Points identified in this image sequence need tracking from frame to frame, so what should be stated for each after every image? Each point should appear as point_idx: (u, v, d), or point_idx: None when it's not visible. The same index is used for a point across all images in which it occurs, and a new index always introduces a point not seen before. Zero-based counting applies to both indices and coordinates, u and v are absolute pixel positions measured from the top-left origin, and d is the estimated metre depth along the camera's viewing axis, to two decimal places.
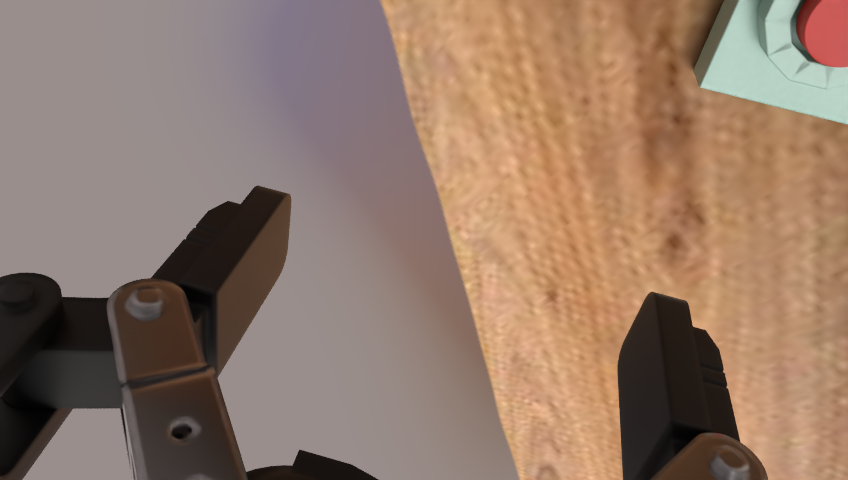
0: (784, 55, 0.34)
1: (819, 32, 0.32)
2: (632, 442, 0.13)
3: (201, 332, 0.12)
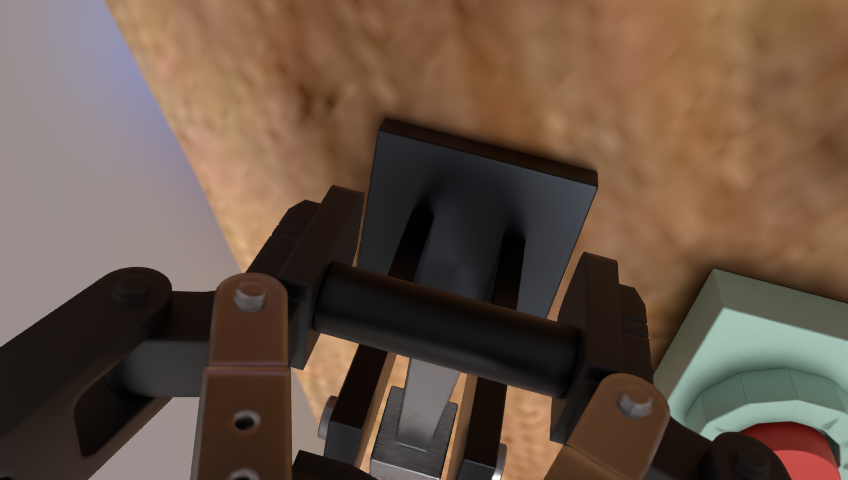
0: None
1: None
2: None
3: (296, 324, 0.12)
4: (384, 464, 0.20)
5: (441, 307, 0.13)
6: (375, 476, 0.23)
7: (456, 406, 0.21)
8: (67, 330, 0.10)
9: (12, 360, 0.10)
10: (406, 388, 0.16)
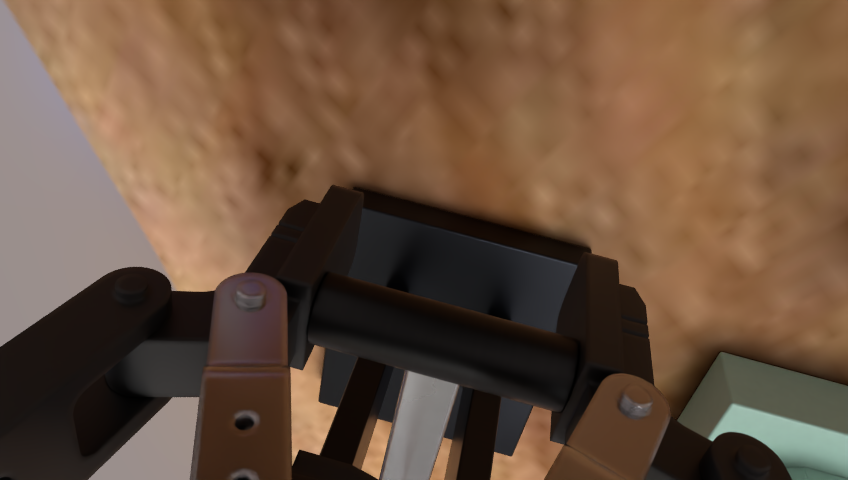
0: None
1: None
2: None
3: (295, 323, 0.12)
4: None
5: (441, 308, 0.13)
6: None
7: None
8: (66, 329, 0.10)
9: (11, 360, 0.10)
10: (390, 443, 0.15)
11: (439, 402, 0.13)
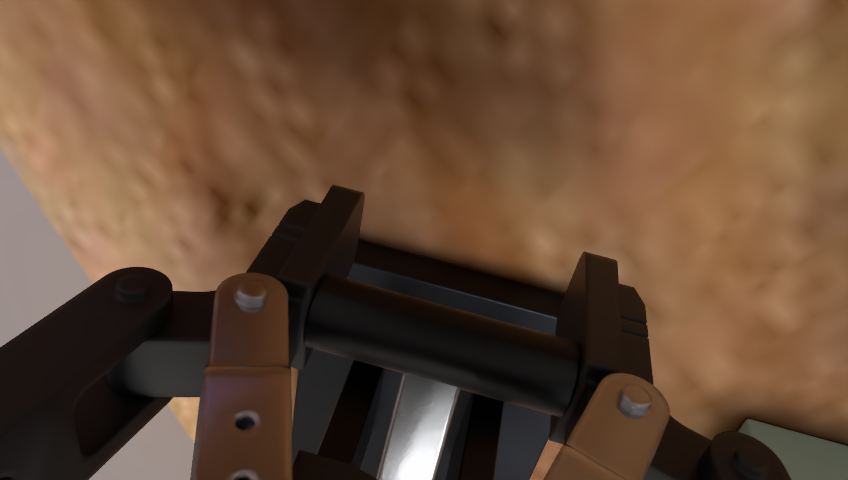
0: None
1: None
2: None
3: (296, 324, 0.12)
4: None
5: (441, 306, 0.13)
6: None
7: None
8: (68, 330, 0.10)
9: (12, 360, 0.10)
10: None
11: (437, 414, 0.13)
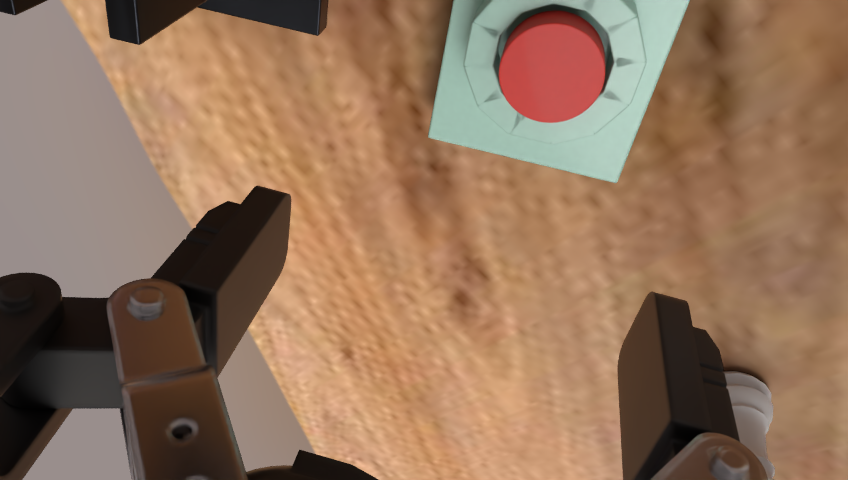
0: (495, 105, 0.28)
1: (516, 82, 0.26)
2: (632, 442, 0.13)
3: (202, 331, 0.12)
4: None
5: None
6: None
7: None
8: None
9: None
10: None
11: None
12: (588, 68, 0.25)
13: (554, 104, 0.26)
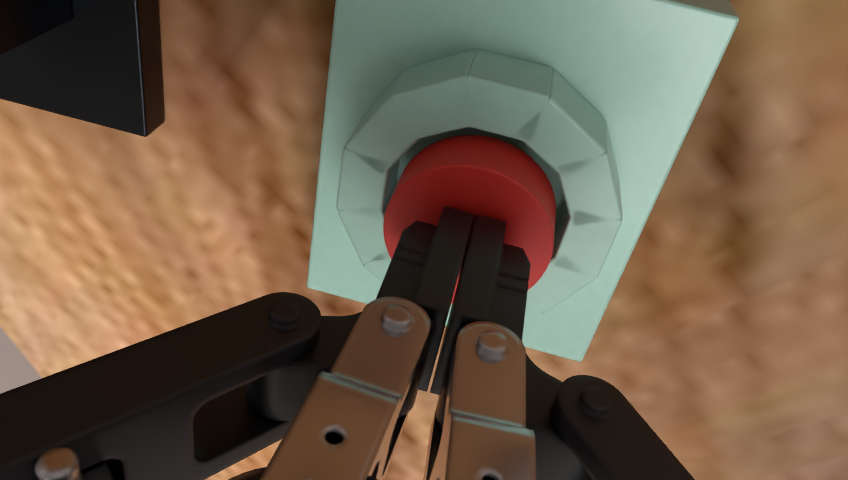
0: None
1: None
2: (442, 344, 0.14)
3: (428, 347, 0.13)
4: None
5: None
6: None
7: None
8: (213, 338, 0.11)
9: (157, 352, 0.10)
10: None
11: None
12: (526, 235, 0.15)
13: None
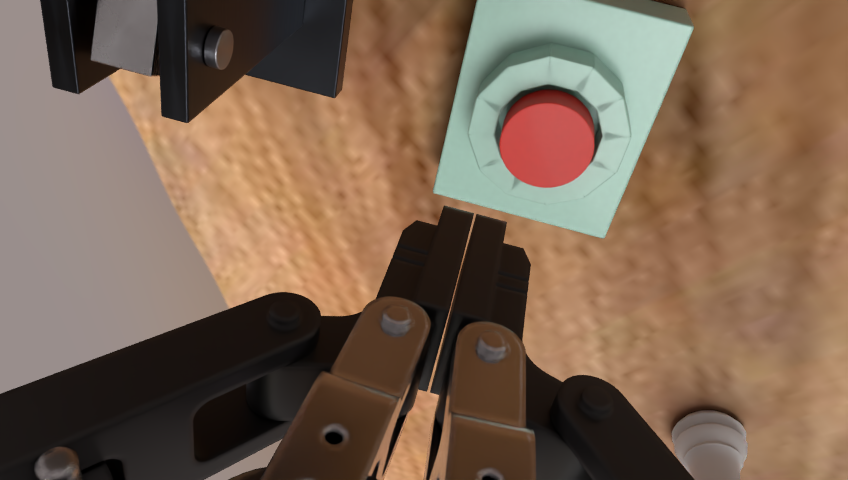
0: (495, 169, 0.31)
1: (514, 152, 0.29)
2: (442, 344, 0.14)
3: (428, 347, 0.13)
4: None
5: None
6: (96, 53, 0.23)
7: None
8: (214, 338, 0.11)
9: (157, 352, 0.10)
10: None
11: None
12: (579, 142, 0.29)
13: (548, 172, 0.30)
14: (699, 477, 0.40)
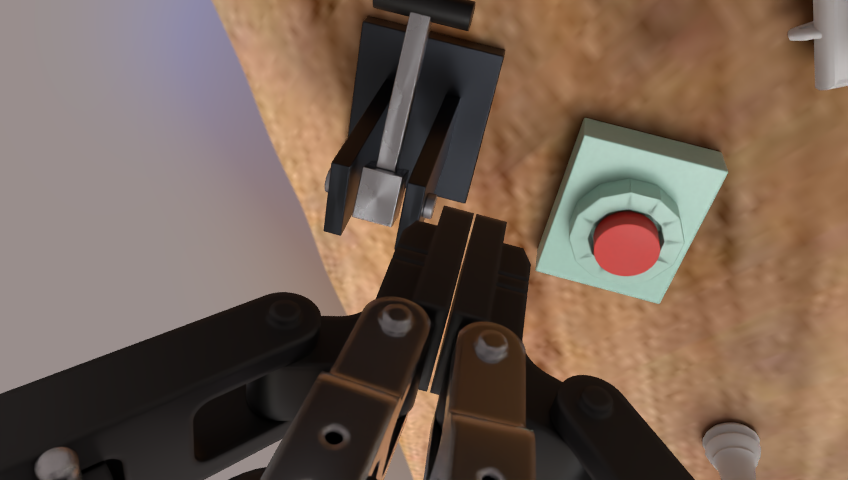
0: (587, 261, 0.45)
1: (604, 253, 0.43)
2: (442, 344, 0.14)
3: (428, 347, 0.13)
4: (370, 170, 0.36)
5: None
6: (356, 212, 0.36)
7: (408, 170, 0.38)
8: (213, 338, 0.11)
9: (158, 352, 0.10)
10: (400, 60, 0.35)
11: (422, 29, 0.34)
12: (649, 249, 0.42)
13: (627, 266, 0.43)
14: (725, 473, 0.54)
